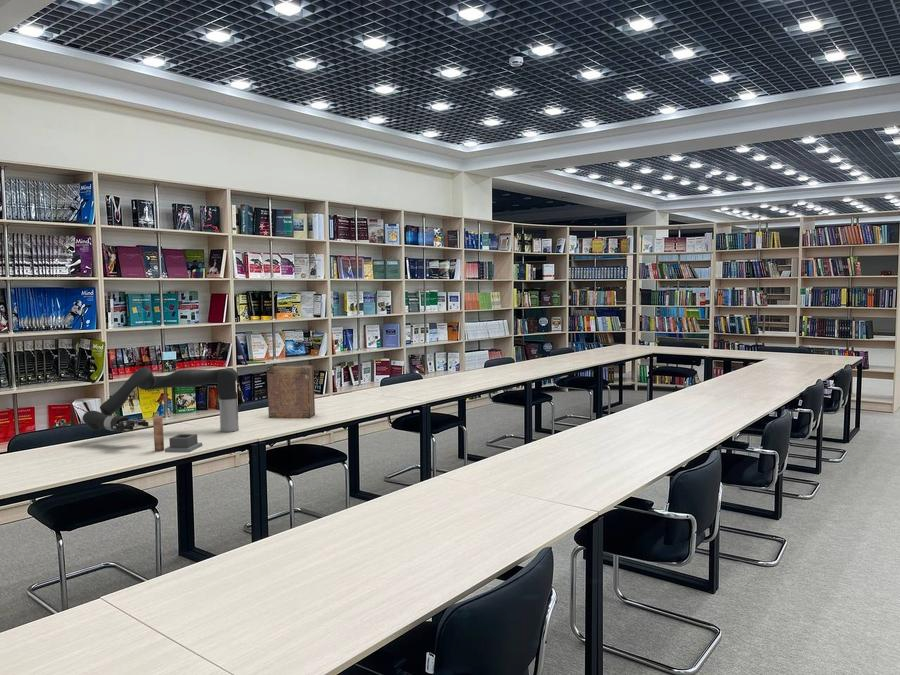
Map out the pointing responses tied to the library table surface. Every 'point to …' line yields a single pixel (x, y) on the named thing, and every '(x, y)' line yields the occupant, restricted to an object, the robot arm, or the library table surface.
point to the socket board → (183, 443)
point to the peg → (158, 433)
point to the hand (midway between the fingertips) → (140, 426)
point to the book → (291, 391)
